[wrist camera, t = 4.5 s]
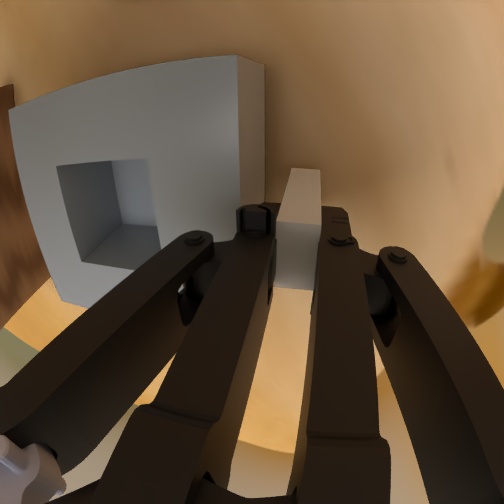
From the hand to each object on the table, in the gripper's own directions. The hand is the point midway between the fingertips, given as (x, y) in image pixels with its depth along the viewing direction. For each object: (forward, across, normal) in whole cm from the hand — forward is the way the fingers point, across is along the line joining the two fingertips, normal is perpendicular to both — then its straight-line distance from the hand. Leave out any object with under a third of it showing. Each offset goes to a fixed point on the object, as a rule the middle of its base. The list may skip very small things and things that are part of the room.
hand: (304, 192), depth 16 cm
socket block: (+2, -9, 0) cm, 10 cm away
